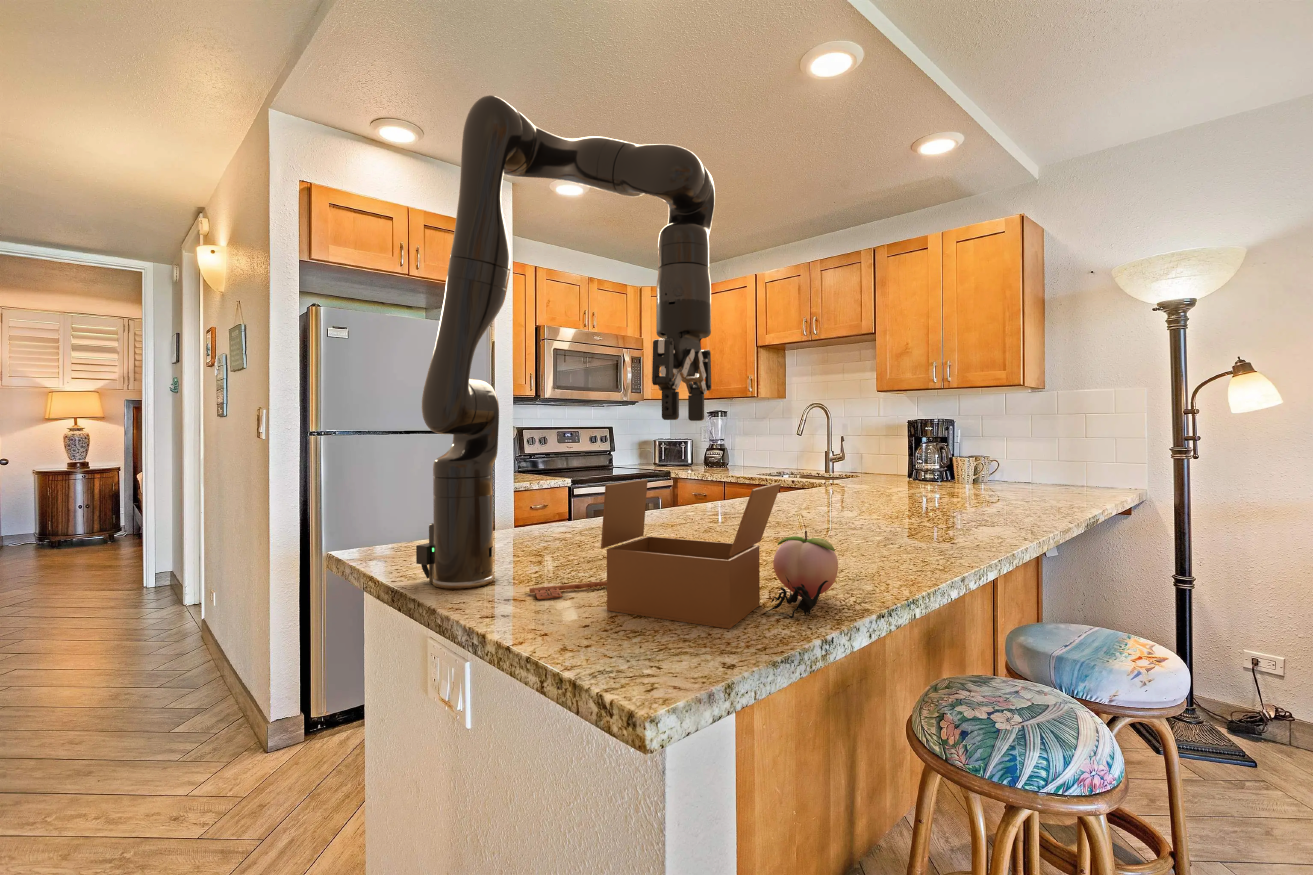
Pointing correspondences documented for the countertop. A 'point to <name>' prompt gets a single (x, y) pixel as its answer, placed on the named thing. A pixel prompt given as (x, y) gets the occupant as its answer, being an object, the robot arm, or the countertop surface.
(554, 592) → the key
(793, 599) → the creature
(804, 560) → the decorative fruit
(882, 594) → the countertop surface
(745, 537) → the flap
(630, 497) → the carton
